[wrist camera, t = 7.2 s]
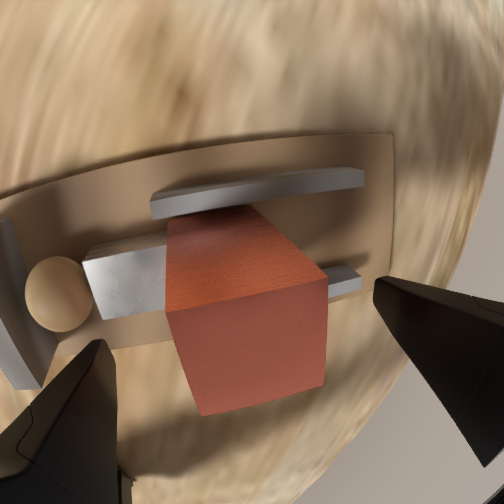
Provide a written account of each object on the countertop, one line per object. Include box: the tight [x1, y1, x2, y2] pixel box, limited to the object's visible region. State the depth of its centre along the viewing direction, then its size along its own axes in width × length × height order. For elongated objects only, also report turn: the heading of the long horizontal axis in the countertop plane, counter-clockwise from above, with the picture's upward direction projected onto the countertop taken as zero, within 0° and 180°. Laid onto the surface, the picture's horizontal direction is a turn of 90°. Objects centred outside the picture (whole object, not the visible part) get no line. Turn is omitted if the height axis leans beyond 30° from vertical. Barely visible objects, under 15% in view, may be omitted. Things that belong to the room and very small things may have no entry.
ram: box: [82, 205, 329, 417], centre depth 11 cm, size 8×4×8 cm, turn 96°
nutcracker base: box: [0, 134, 394, 390], centre depth 14 cm, size 24×10×5 cm, turn 96°
